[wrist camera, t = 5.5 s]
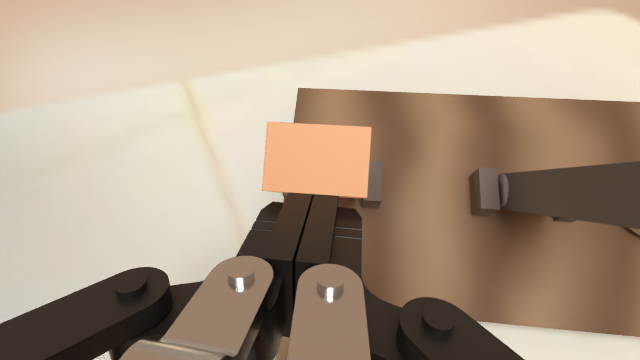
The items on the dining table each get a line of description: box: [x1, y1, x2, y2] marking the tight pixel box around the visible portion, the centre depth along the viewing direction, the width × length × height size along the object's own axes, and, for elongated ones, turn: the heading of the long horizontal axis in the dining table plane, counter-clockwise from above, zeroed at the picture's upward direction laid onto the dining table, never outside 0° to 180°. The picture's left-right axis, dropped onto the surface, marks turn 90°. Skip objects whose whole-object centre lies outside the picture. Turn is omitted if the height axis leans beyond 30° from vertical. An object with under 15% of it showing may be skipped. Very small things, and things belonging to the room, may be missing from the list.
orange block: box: [262, 122, 371, 198], centre depth 16 cm, size 3×2×12 cm, turn 85°
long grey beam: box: [498, 161, 640, 229], centre depth 15 cm, size 3×2×12 cm, turn 85°
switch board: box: [283, 88, 640, 337], centre depth 21 cm, size 24×14×4 cm, turn 85°
